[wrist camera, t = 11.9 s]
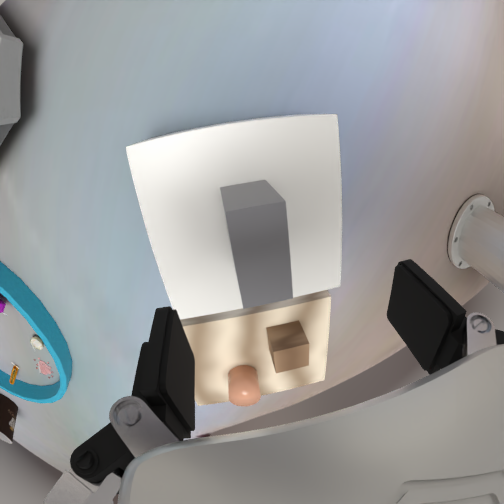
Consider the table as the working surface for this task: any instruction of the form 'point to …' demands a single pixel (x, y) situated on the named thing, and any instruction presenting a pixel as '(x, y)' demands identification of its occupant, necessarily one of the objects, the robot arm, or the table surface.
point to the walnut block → (288, 346)
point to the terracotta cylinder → (243, 386)
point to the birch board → (256, 345)
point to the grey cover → (243, 210)
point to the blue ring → (35, 342)
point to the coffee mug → (7, 418)
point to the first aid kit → (9, 78)
